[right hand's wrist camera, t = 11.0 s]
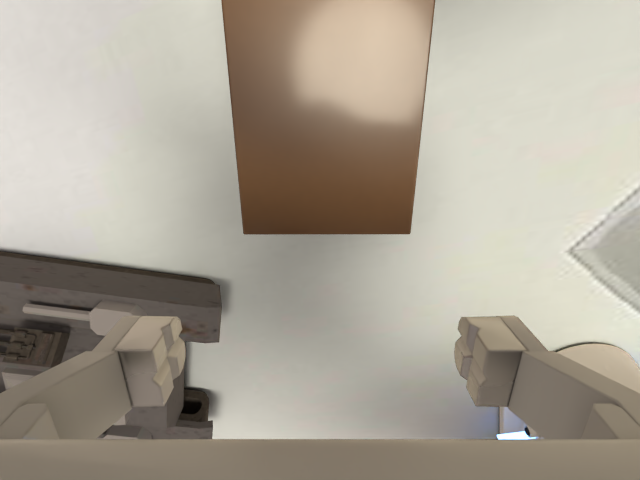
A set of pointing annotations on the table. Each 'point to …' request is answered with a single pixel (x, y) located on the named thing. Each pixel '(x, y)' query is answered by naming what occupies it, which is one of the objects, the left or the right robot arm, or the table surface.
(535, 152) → the table surface
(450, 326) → the table surface
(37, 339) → the toy
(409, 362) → the table surface
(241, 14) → the box
